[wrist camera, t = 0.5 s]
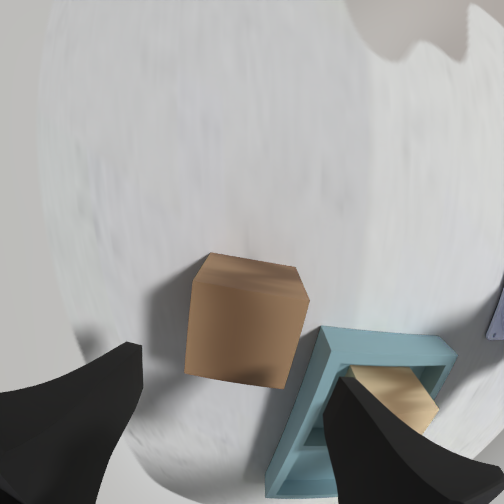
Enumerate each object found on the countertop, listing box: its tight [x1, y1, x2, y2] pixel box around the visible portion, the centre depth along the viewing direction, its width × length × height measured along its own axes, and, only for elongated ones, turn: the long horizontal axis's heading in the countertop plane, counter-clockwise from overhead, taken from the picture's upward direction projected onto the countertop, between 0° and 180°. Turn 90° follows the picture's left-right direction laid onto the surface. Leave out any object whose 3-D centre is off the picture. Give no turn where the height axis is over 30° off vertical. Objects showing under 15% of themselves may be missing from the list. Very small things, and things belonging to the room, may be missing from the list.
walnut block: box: [184, 253, 310, 389], centre depth 15 cm, size 5×5×5 cm
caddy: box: [265, 326, 458, 499], centre depth 19 cm, size 10×18×3 cm, turn 170°
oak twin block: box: [345, 365, 439, 435], centre depth 16 cm, size 5×5×5 cm
